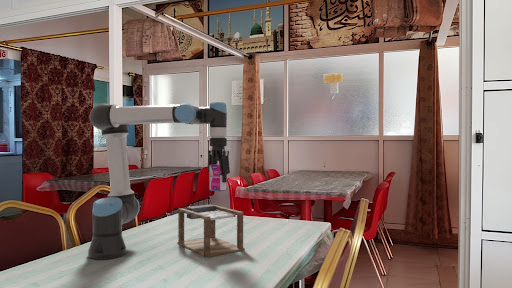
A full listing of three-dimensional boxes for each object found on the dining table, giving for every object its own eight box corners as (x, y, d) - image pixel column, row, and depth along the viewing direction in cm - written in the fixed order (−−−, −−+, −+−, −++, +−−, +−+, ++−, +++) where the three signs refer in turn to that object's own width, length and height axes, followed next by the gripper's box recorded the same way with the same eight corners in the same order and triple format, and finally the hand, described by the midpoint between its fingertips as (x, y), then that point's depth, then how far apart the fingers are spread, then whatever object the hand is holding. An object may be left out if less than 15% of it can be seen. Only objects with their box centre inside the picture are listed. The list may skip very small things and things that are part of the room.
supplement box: (209, 190, 173) (208, 164, 173) (216, 189, 178) (216, 164, 178) (220, 191, 170) (220, 165, 170) (227, 190, 176) (227, 164, 176)
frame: (177, 243, 185) (177, 208, 185) (212, 237, 197) (212, 204, 197) (207, 257, 163) (207, 217, 163) (244, 250, 175) (244, 212, 175)
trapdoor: (184, 217, 184) (184, 207, 184) (212, 214, 193) (212, 204, 193) (207, 225, 167) (207, 213, 167) (236, 221, 176) (236, 210, 176)
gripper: (238, 137, 169) (238, 190, 169) (213, 137, 185) (213, 186, 185) (223, 137, 164) (223, 192, 164) (199, 137, 180) (199, 187, 180)
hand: (218, 189), depth 174 cm, fingers closed on supplement box, 7 cm apart
